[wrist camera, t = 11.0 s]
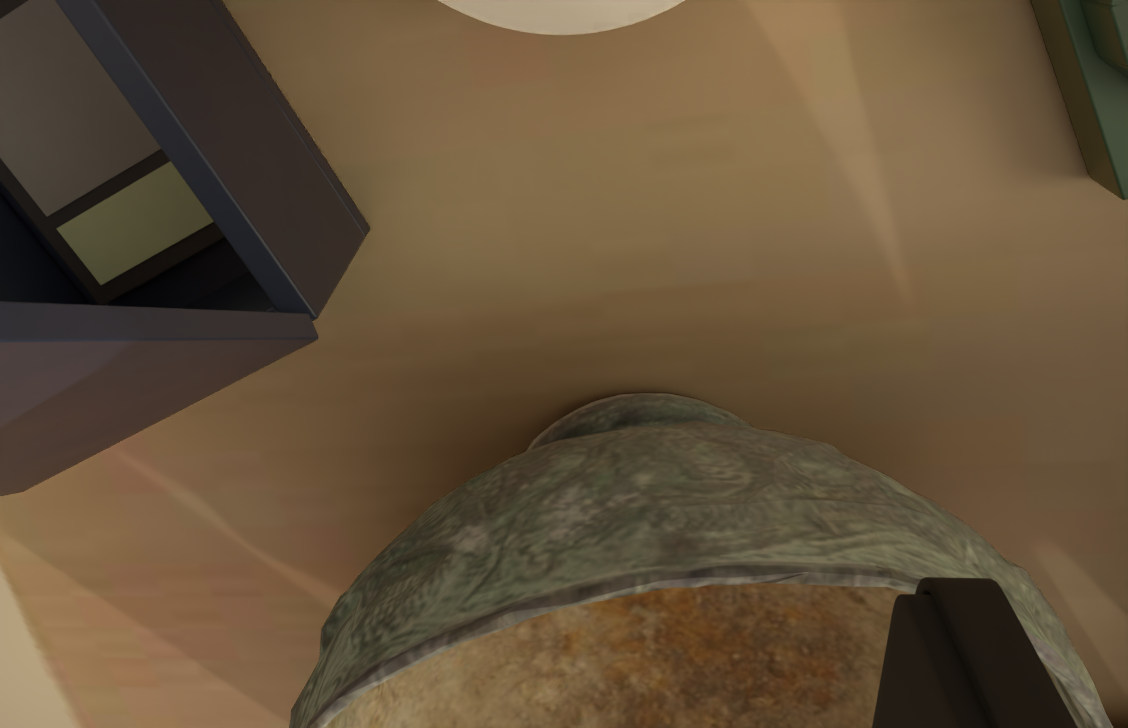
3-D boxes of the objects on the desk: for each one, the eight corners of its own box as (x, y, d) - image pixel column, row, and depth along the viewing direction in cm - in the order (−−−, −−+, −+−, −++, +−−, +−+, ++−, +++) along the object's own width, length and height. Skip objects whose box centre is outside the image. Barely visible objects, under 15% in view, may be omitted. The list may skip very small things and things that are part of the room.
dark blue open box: (-159, 5, 29) (-356, 47, 23) (105, -179, 27) (-38, -188, 21) (127, 360, 34) (25, 472, 28) (371, 228, 32) (318, 319, 26)
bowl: (457, 766, 42) (390, 1205, 28) (300, 336, 33) (99, 667, 20) (962, 696, 39) (1152, 1139, 26) (928, 213, 31) (1183, 496, 17)
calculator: (-80, 50, 29) (-105, 57, 28) (97, -69, 27) (78, -66, 26) (114, 296, 32) (98, 310, 31) (282, 201, 31) (271, 214, 30)
